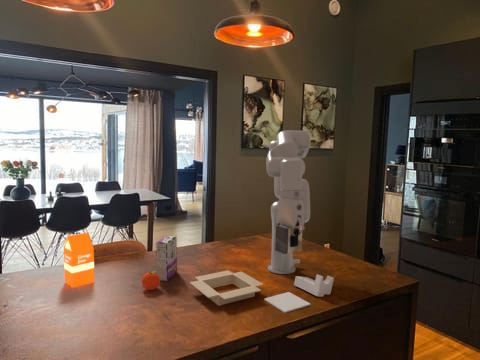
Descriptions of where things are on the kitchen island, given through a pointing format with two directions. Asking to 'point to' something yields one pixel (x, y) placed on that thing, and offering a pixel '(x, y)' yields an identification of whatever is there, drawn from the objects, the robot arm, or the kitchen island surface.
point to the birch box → (286, 240)
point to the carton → (225, 278)
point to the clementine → (151, 280)
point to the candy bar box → (166, 257)
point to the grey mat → (287, 302)
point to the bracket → (315, 285)
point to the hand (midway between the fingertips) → (288, 243)
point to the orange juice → (79, 260)
